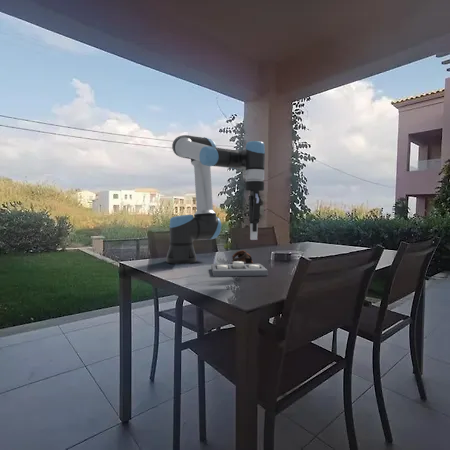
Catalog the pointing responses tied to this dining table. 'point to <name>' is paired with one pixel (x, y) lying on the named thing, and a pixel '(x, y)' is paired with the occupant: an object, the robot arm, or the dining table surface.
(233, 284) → the dining table surface
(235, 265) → the button mid
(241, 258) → the brown looped knot
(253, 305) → the dining table surface
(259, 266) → the button
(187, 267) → the dining table surface
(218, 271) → the board
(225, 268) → the button
